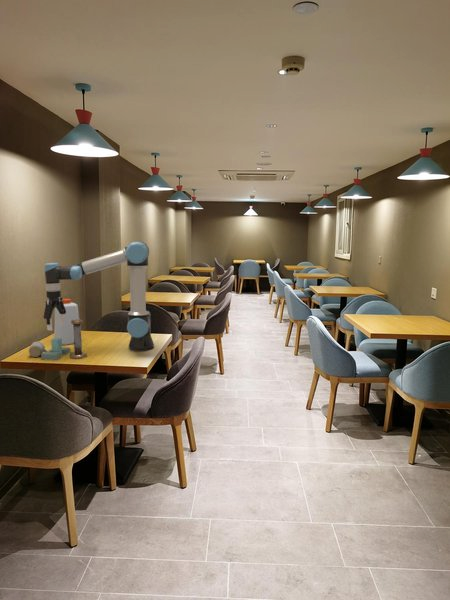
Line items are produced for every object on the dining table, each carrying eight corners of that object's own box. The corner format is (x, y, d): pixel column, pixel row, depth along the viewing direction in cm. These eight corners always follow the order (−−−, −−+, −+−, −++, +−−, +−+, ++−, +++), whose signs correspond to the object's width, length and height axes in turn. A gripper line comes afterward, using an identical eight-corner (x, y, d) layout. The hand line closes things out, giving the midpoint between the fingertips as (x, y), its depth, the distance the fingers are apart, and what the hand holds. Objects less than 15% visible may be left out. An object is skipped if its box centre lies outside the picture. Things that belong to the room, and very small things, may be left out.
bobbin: (89, 355, 265) (87, 319, 262) (82, 359, 257) (80, 322, 254) (74, 354, 267) (73, 318, 264) (67, 358, 258) (65, 321, 255)
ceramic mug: (28, 358, 259) (27, 344, 258) (31, 354, 267) (30, 341, 266) (48, 357, 261) (47, 344, 260) (50, 353, 269) (50, 340, 268)
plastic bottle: (59, 346, 286) (57, 301, 282) (52, 341, 298) (50, 299, 294) (83, 342, 295) (81, 299, 291) (76, 338, 307) (73, 297, 303)
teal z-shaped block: (70, 352, 271) (70, 347, 270) (56, 359, 255) (56, 354, 255) (56, 352, 272) (56, 347, 272) (41, 359, 257) (41, 354, 256)
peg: (62, 355, 265) (61, 338, 264) (58, 357, 261) (57, 339, 260) (56, 354, 266) (55, 338, 265) (52, 356, 262) (51, 339, 261)
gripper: (58, 287, 271) (61, 323, 274) (34, 293, 247) (38, 332, 250) (70, 287, 270) (72, 323, 273) (47, 293, 245) (50, 332, 249)
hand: (56, 327), depth 261 cm, fingers open, 13 cm apart
